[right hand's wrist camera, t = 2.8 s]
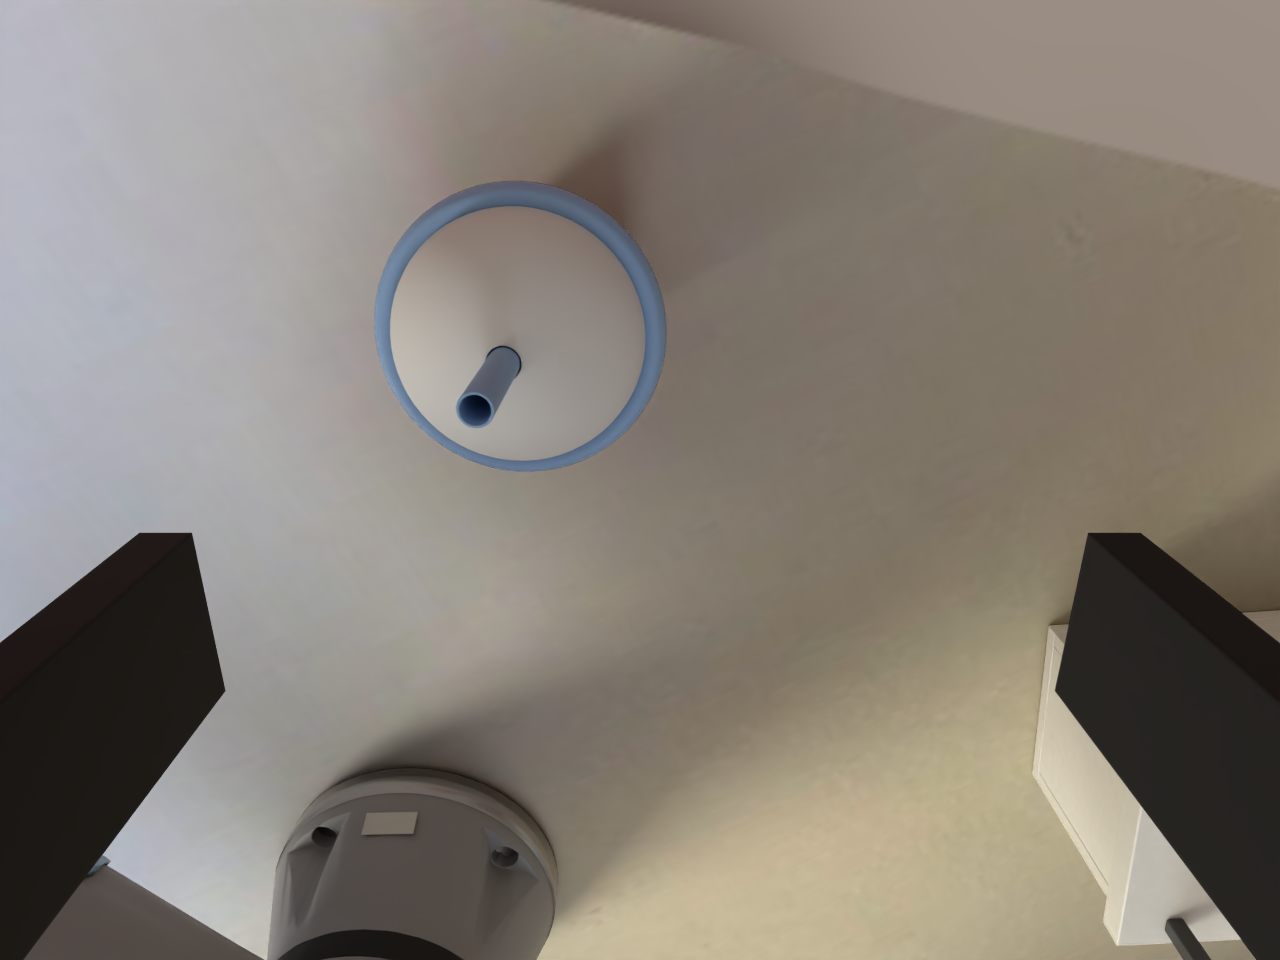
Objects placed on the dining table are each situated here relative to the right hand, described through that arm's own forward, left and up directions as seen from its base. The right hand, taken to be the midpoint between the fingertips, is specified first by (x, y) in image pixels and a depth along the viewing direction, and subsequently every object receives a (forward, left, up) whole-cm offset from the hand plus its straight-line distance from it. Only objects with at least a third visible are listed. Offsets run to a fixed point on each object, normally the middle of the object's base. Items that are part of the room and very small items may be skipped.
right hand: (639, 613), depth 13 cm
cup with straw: (0, +4, -26) cm, 26 cm away
